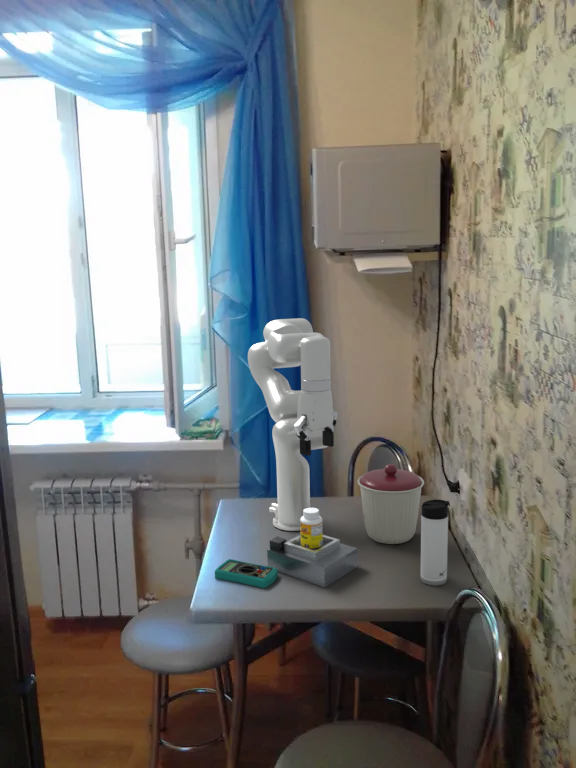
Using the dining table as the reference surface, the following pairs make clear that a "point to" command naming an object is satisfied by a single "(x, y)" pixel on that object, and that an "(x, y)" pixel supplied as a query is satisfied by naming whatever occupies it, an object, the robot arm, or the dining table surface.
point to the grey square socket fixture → (312, 559)
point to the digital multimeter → (246, 573)
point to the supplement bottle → (311, 529)
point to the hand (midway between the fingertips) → (317, 450)
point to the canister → (390, 503)
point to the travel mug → (434, 542)
